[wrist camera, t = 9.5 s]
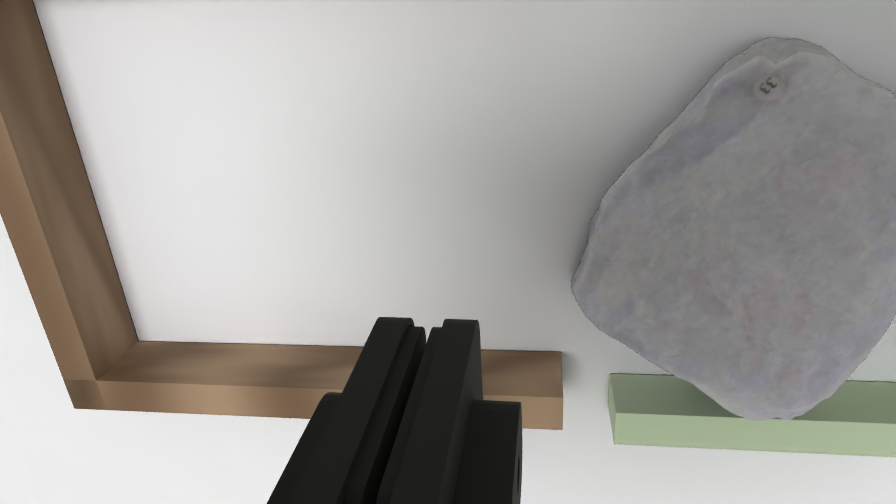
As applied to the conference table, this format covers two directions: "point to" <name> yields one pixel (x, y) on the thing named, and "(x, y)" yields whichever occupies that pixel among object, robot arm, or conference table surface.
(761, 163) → the stone block
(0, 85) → the brown wooden u frame
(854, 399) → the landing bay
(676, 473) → the conference table surface
